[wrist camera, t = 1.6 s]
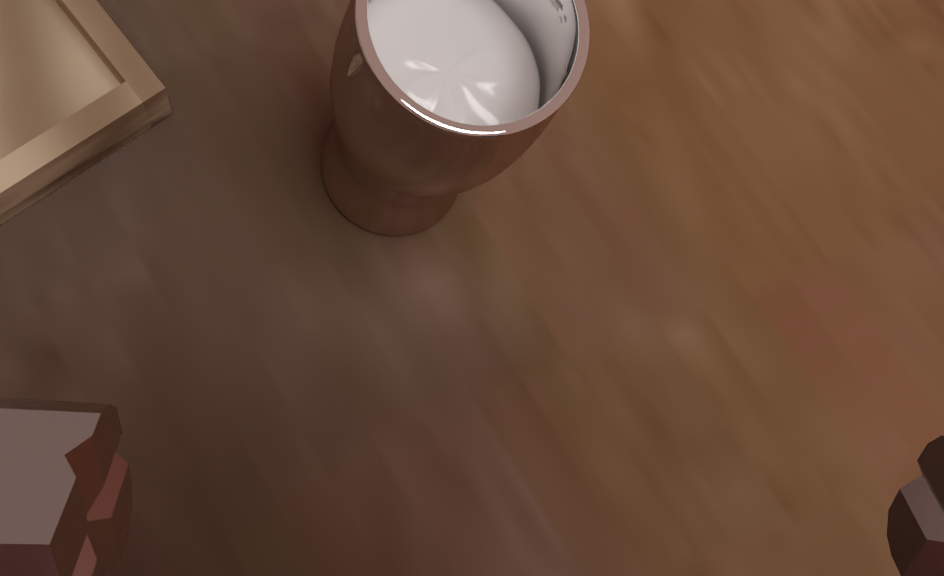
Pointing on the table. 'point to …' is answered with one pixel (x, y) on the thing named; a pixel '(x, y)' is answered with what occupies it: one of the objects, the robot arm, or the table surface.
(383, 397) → the table surface
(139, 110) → the tray
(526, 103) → the beer glass
